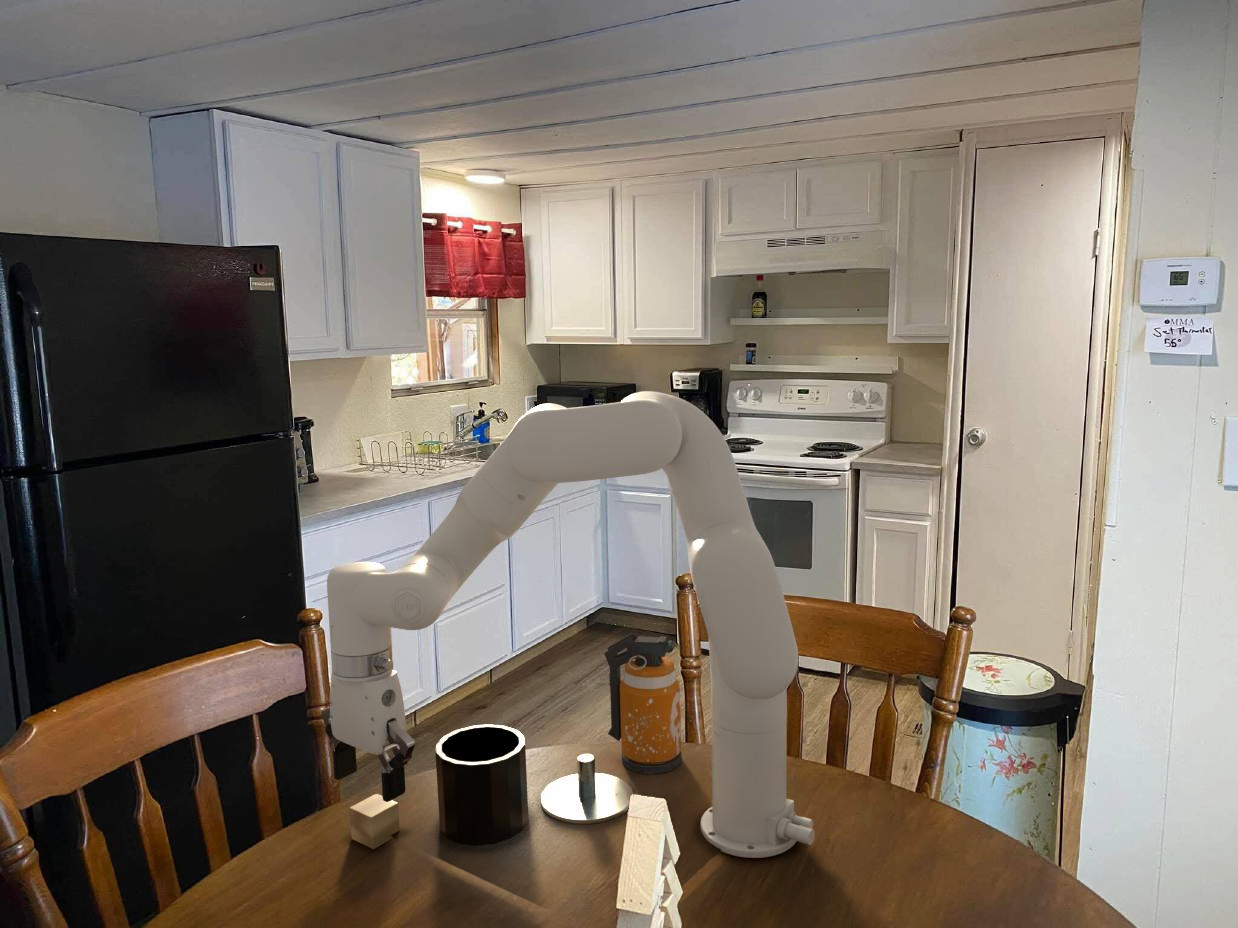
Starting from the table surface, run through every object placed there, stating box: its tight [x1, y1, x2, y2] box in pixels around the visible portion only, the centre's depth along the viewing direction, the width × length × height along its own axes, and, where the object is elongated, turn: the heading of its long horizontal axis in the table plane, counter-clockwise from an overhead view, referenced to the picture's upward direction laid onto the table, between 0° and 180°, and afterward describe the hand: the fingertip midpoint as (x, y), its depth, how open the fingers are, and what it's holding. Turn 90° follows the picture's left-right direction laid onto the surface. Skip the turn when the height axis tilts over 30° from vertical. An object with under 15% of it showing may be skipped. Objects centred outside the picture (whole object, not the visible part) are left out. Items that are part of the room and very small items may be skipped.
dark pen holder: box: [434, 724, 530, 847], centre depth 121 cm, size 12×12×12 cm
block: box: [349, 793, 401, 850], centre depth 119 cm, size 4×4×4 cm
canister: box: [603, 632, 682, 774], centre depth 136 cm, size 9×11×20 cm
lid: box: [540, 753, 634, 825], centre depth 126 cm, size 13×13×7 cm
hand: (369, 785), depth 118 cm, fingers open, 9 cm apart
